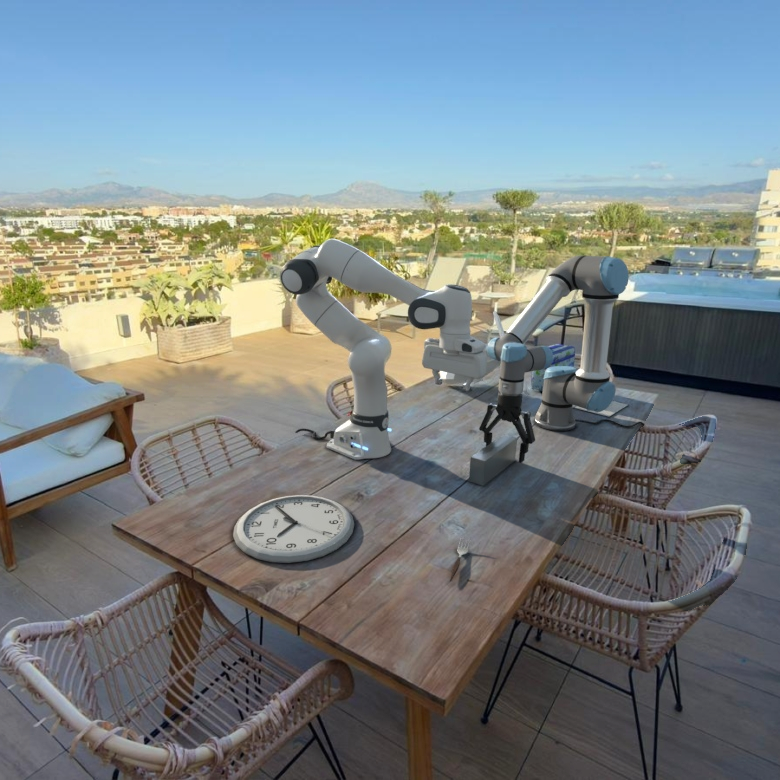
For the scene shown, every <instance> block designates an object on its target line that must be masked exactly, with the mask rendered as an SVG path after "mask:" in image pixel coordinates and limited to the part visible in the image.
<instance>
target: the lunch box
mask: <svg viewBox="0 0 780 780" xmlns="http://www.w3.org/2000/svg"><path fill="white" fill-rule="evenodd" d="M547 347H548V348H550V350H551V351H552V353H553V361H552V364H551V365H550V366H549V367H555V366H571V367H575V360H576V358H575V357H576V349H575V346H572V345H565V344H560V343H555V344H552V345H547ZM549 367H547V368H549ZM547 368H544V369H542V370H536V371H531V376H530V377H531V378H530V387H531V389H532V390H536V391H539V392H540V391H541V392H542V391H543V381H544V379H543V378H544V375H545V370H546V369H547Z"/></svg>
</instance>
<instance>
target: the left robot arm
mask: <svg viewBox="0 0 780 780" xmlns="http://www.w3.org/2000/svg"><path fill="white" fill-rule="evenodd" d="M279 278H280V282H281V284H282V287H283V288H284V289H285V290H286V291H287V292H288V293H290V294H292V295H295V296H296V297H295V303H296V306H297V307H298V308H299V310H300V311H301V313H302V314H303V315H304V316H305V317H306V318H307V319H308V321H309V322H310V323H311V324H312V325H313V326H314V327H315V328H316V329H318V331H320V332H321V333H322V334H323V335H324V336H325V337H326V338H327V339H328V340H330V342H332V343H333V344H336V345H338V346H341V347H342V348H344V349H345V350H347V351H348V352H349V355H348V359H347V364H348V368H349V370H350V375H351V380H352V385H353V409H351V410H350V411H348V412H347V413H346V414H347V415H346V416H347V417H349V416H350V418H349V419H348V420H346V421H345V422H343V423H342V424H341V425H338V426H336V427H334V428H332V429H331V430H329V431H328V430H327V432H325V433H324V435H323V436H316V435H317V431H315V430H312V429H309V428H298V429H297V430H296V431H294V433H295V434H298V433H300V432H309V433H311V434H312V435H311V438H312V439H315V440H319V441H320V440H324V439H326V438H327V437H328V435H330V440H329V441H328V442H327V443H326V448H327V450H331V451H334V452H336V453H338V454H341V455H342V456H345V457H347V458H349V459H351V460H355V461H356V460H357V461H359V460H364V459H378V458H383V457H386V456H388V455H389V454H391V452H392V447H391V441H390V438H389V432H392V428H389V410H388V386H387V383H386V382H387V381H386V375H385V373H386V372H385V369H386V364H387V363H388V361H389V360H390V359H391V356H392V343H391V341H390V339H389V338H388V337H387V336H385V335H384V334H381V333H379V332H378V331H377V330H375V329H374V328H372V327H371V326H370V325H369V324H368V323H365V322H364V321H362V320H361V319H360V318H358V317H357V316H355V314H353V313H352V312H351V311H350V310H349V309H348V308H347V307H346V306H344V304H342V302H340V301H339V300H338V299H337V298H336V297H335V296H334V295H332V293H331V292H330V291H329V290H328V287H327V285H328V284H330V283H332V280H333V279H334V280H336V281H338V282H339V283H341V284H342V285H344V286H345V287H347V288H349V289H351V290H353V291H356V292H360V293H362V294H374V293H375V294H383V295H384V294H385V295H388V296H391V297H393V298H395V299H396V300H398V301H399V302H402V303H404V304H406V305H407V306H408V309H407V317H408V321H409V322H410V324H411V325H412V326H413V327H415V328H416V329H419V330H431V329H439V338H433V337H428V338H426V339H425V340H424V342H423V353H422V359H421V365H422V367H423V369H429V370H431V372H432V375H433V377H434V383H435V385H438V386H441V385H442V384H443V381H442V378H441V376H440V371H443V372H447V373H452V374H457V375H462V376H467V377H466V380H468V381H467V383H462V391H466V392H468V391H470V388H471V384H472V383H473V382H472V381H473V380H474V378H477V379H479V378H482V377H483V378H485V377H486V376H485V374H486V370H487V359H486V354H485V353H484V352H483V350H485V347H486V345H485V344H486V343H485V342H484V341H481V340H479V339H478V338H476V337H474V336H472V334H471V332H472V331H471V326H470V324H471V320H472V317H473V299H472V293H471V291H470V290H469V289H468V288H467V287H465V286H462V285H459V284H458V285H457V284H453V283H452V284H450V283H449V284H444V286H443V287H441V288H439V289H438V290H429V289H424V288H421V287H419V286H418V285H416V284H414V283H412V282H410V281H408V280H406V279H405V278H403V277H401V276H399V275H397V274H395V273H394V272H392V271H391V270H389V269H388V268H386V267H385V266H384V265H382V263H380V262H379V261H377V260H376V259H374V258H373V257H371V256H369V254H367V253H365V252H364V251H362V250H360V249H358V248H356V247H355V246H353V245H351V244H349V243H346V242H344V241H342V240H339V239H336V238H329V239H326V240H324V241H323V242H322V243H321V244H318V245H313V246H311V247H309V248H307V249H305V250H303V251H301V252H299V253H298V254H297V255H296V256H294V257H293V258H292V259H289V260H288V261H286V262H285V264H284V265H282V268H281V269H280V273H279ZM484 376H485V377H484Z"/></svg>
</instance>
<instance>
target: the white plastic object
mask: <svg viewBox="0 0 780 780" xmlns="http://www.w3.org/2000/svg"><path fill="white" fill-rule="evenodd" d="M492 315H493V319H494V321H495V324H496V325H495V326H496V328H497V332H498V335H499V338H502V336H503V335H504V334H505V331H504V328H503V325H502V321H501V318H500V315H499V314H498V312H497V311H496V310H495V311H492ZM488 343H489V342H487V343H485V345H486V347H485V350H483V352H484V353H485V354H486V359H487V370H486V374H485V376H484V377H482V378H479V379H477V378H474V380H473V381H472V383H473V384H477V383H480V382H482V381H484V378H485V377H486V376H487V375H489V374H490V373H492V372H494V371H495V370H496V369H497V368H500V364H501V361H497V360H495V359H492V358H491V357H489V355H488V353H487V346H488ZM439 376H440V378H442V383H443V384H444V385H445V386H449V385H458V384H465V383H467V381H468V380H466V377H467V376H462V375H457V374H452V373H447V372H443V371H440V372H439ZM528 387H529V386H528V384H527V381H526V378H525V377H524V384H523V393H524V395H525V396H526V397H528V396H531V395H530V390H529V388H528Z"/></svg>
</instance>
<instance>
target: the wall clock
mask: <svg viewBox="0 0 780 780" xmlns="http://www.w3.org/2000/svg"><path fill="white" fill-rule="evenodd" d="M354 528H355V521H354V517H353V514H352V513H351V512H350V510H348V509H347V507H345V506H343V505H342V504H340V503H339V502H337V501H335V500H333V499H332V500H331V499H328V498H327V497H322V496H317V495H305V494H297V495H286V496H281V497H277V498H272V499H269V500H266V501H264V502H261V503H259V504H256V505H255V506H253V507H252V508H250V509H249V510H247V511H246V512H245V513H243V514H242V516H241V517H239V518H238V520H237V522H236V524H235V525H234V527H233V533H232V536H233V537H232V538H233V540H234V542H235V545H236V547H237V548H239V549H240V550H241V551H242V552H243V553H244V554H246V555H248V556H250V557H252V558H254V559H255V560H261V561H265V562H270V563H283V564H284V563H285V564H292V563H301V562H308V561H311V560H315V559H318V558H321V557H325V556H326V555H328V554H331V553H333V552H335V551H337V550H338V549H339V548H341V547H342V546H343V545H345V544H346V543H347V542H348V541H349V540H350V538H351V537H352V535H353V534H354Z"/></svg>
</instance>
